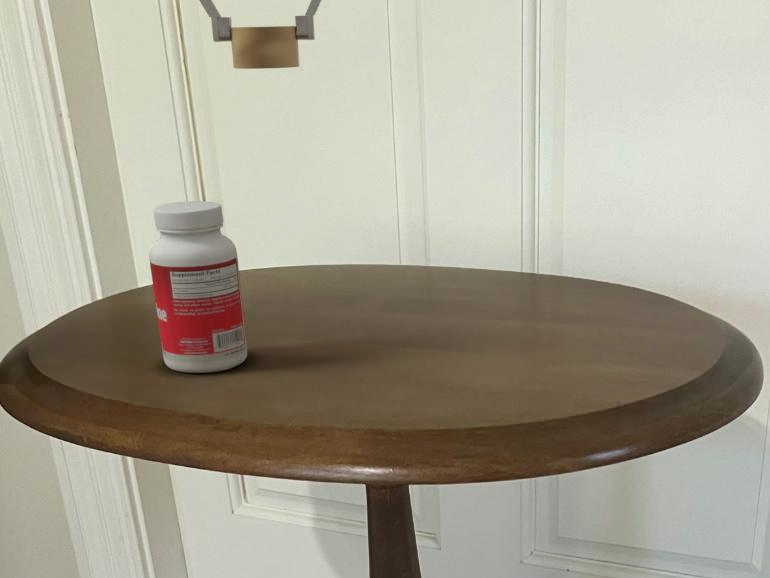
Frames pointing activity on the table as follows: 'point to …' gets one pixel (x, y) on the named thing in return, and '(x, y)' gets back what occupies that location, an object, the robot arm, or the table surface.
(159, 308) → the pill bottle
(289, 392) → the table surface
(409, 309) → the table surface
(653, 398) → the table surface
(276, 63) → the squat tan drum
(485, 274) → the table surface
